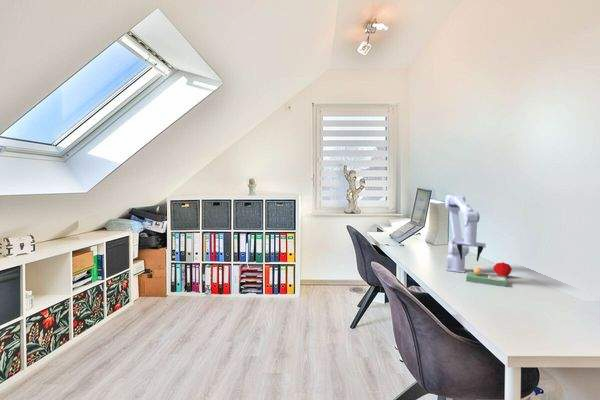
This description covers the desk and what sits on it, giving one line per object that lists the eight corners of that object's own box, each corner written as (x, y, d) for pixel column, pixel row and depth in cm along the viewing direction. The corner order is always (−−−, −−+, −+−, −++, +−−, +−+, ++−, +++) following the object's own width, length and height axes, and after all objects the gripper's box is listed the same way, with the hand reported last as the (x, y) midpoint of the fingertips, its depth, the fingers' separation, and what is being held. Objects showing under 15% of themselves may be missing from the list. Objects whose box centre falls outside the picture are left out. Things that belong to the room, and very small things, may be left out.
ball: (473, 275, 188) (473, 268, 188) (473, 273, 192) (474, 266, 191) (481, 276, 186) (482, 269, 186) (482, 274, 190) (482, 267, 189)
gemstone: (517, 279, 187) (515, 266, 195) (500, 270, 188) (500, 258, 196) (505, 289, 192) (504, 277, 200) (490, 280, 194) (489, 269, 201)
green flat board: (466, 281, 187) (466, 276, 186) (467, 276, 196) (468, 271, 196) (506, 286, 178) (506, 281, 178) (506, 281, 188) (506, 276, 187)
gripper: (455, 234, 189) (454, 259, 190) (486, 236, 183) (485, 263, 184) (455, 232, 196) (454, 257, 197) (485, 234, 190) (484, 260, 191)
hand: (469, 259), depth 191 cm, fingers open, 7 cm apart
